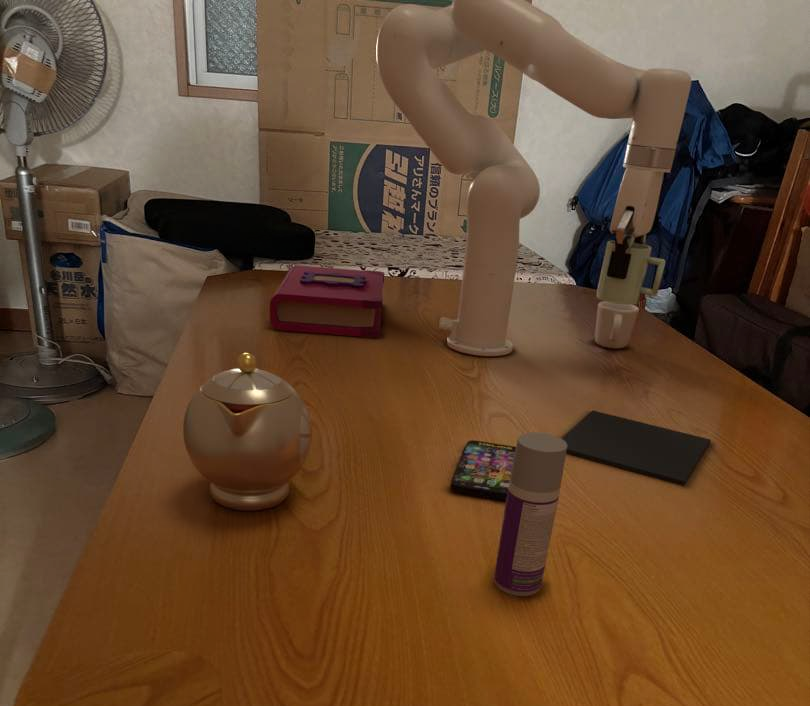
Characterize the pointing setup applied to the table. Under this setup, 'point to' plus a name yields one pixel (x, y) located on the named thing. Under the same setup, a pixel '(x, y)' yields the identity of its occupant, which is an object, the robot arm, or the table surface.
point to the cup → (614, 324)
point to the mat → (636, 446)
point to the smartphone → (484, 470)
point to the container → (529, 513)
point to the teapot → (247, 435)
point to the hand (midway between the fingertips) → (622, 273)
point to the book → (329, 301)
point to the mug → (629, 276)
